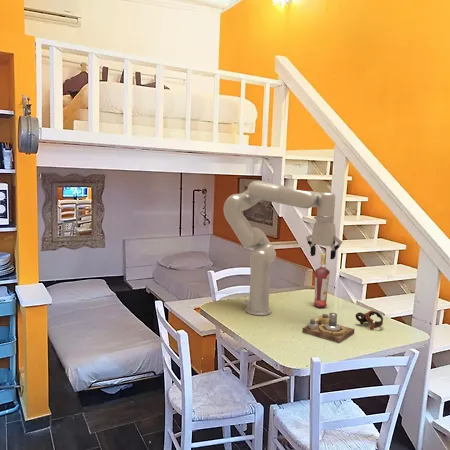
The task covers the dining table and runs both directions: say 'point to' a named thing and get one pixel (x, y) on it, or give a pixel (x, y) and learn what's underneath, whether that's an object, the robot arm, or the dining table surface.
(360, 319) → the brown creature figurine
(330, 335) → the carrier board
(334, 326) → the knobbed round disc
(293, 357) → the dining table surface
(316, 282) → the liquor
